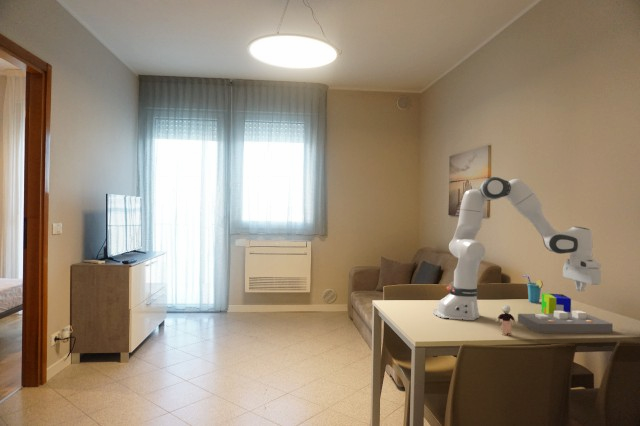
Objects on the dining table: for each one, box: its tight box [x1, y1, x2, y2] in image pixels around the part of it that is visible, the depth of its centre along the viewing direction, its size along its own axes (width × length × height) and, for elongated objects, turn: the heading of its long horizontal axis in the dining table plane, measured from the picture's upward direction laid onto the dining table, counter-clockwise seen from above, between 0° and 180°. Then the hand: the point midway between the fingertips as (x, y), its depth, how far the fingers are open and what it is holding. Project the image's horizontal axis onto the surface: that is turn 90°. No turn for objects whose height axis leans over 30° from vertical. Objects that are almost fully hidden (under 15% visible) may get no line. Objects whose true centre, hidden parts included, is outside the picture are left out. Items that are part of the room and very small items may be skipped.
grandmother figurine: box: [495, 304, 517, 336], centre depth 169 cm, size 8×4×13 cm, turn 92°
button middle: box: [554, 311, 568, 319], centre depth 183 cm, size 4×4×3 cm
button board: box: [517, 313, 614, 334], centre depth 181 cm, size 34×16×4 cm, turn 93°
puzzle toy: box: [541, 292, 572, 314], centre depth 201 cm, size 10×10×10 cm
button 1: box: [534, 313, 549, 319], centre depth 182 cm, size 4×4×3 cm
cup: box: [522, 274, 544, 304], centre depth 229 cm, size 14×8×15 cm, turn 24°
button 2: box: [571, 310, 587, 319], centre depth 183 cm, size 4×4×3 cm
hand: (580, 290), depth 183 cm, fingers closed
